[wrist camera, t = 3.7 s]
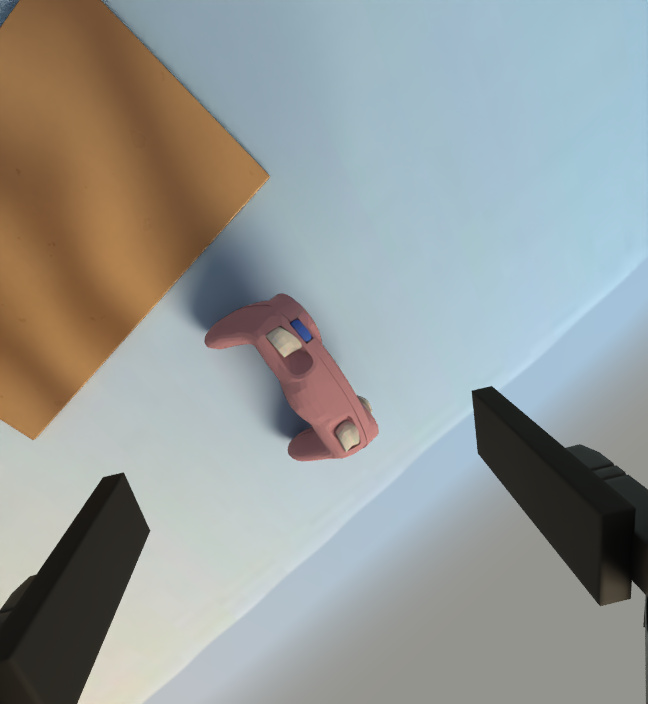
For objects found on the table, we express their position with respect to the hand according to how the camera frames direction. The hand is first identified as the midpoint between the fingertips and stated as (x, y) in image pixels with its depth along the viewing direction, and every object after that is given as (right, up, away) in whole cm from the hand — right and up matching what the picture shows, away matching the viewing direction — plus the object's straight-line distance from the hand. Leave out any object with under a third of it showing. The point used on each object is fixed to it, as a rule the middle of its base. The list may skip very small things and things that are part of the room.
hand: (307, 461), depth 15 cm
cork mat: (-13, +10, +5) cm, 18 cm away
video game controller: (-1, +3, +9) cm, 10 cm away
